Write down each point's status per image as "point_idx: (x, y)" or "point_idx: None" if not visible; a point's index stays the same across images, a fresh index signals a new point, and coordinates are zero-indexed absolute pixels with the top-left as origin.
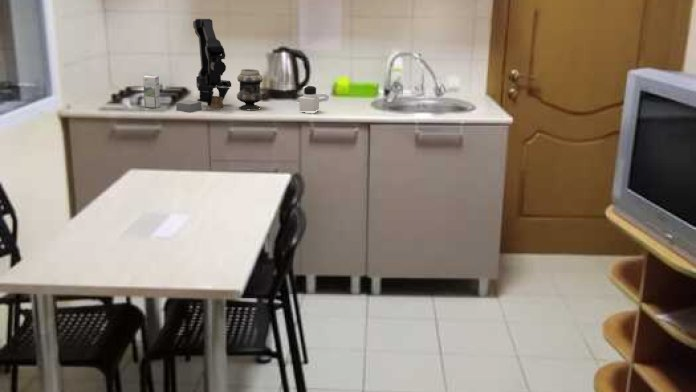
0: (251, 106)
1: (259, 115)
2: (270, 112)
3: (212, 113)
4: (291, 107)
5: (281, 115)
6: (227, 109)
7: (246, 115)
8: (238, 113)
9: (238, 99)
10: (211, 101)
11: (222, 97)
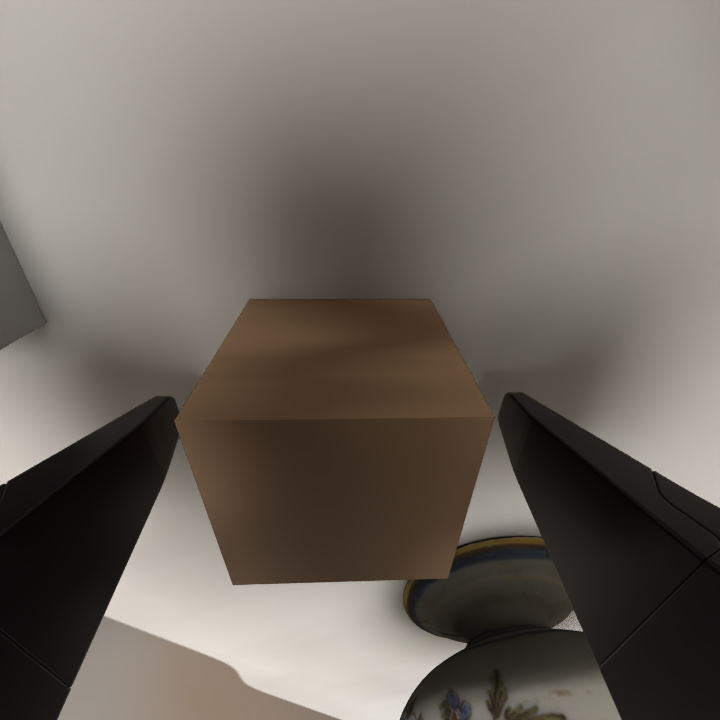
0: (462, 637)
1: (301, 679)
2: (421, 676)
3: None
4: None
5: (378, 710)
6: None
7: (242, 655)
8: (255, 616)
9: (444, 676)
10: (147, 507)
11: (440, 569)
